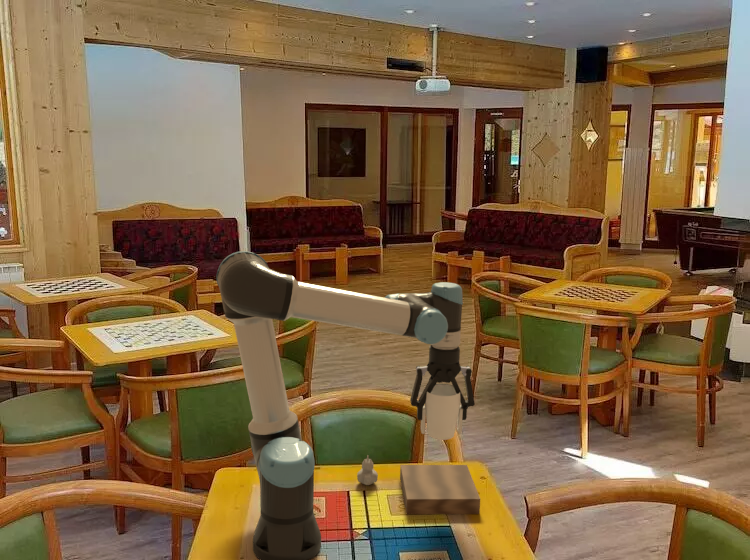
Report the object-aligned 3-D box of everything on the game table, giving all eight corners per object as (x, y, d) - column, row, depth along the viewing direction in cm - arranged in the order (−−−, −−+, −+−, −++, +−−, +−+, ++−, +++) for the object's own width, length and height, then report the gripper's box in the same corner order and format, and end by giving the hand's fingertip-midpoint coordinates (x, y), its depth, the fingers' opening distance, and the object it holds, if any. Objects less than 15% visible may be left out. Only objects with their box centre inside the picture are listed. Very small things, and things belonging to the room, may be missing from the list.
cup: (457, 444, 167) (459, 397, 164) (420, 440, 168) (422, 394, 166) (460, 429, 175) (462, 385, 173) (425, 425, 177) (427, 382, 175)
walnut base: (406, 514, 166) (407, 499, 165) (400, 478, 183) (400, 464, 183) (479, 513, 167) (480, 499, 166) (466, 478, 184) (466, 464, 184)
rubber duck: (377, 478, 183) (377, 450, 182) (377, 490, 177) (378, 462, 175) (356, 478, 183) (357, 450, 182) (357, 490, 177) (357, 462, 175)
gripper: (403, 349, 163) (400, 437, 167) (490, 350, 164) (485, 437, 169) (400, 340, 170) (397, 425, 175) (484, 341, 171) (479, 425, 176)
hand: (441, 431), depth 172 cm, fingers closed on cup, 9 cm apart
